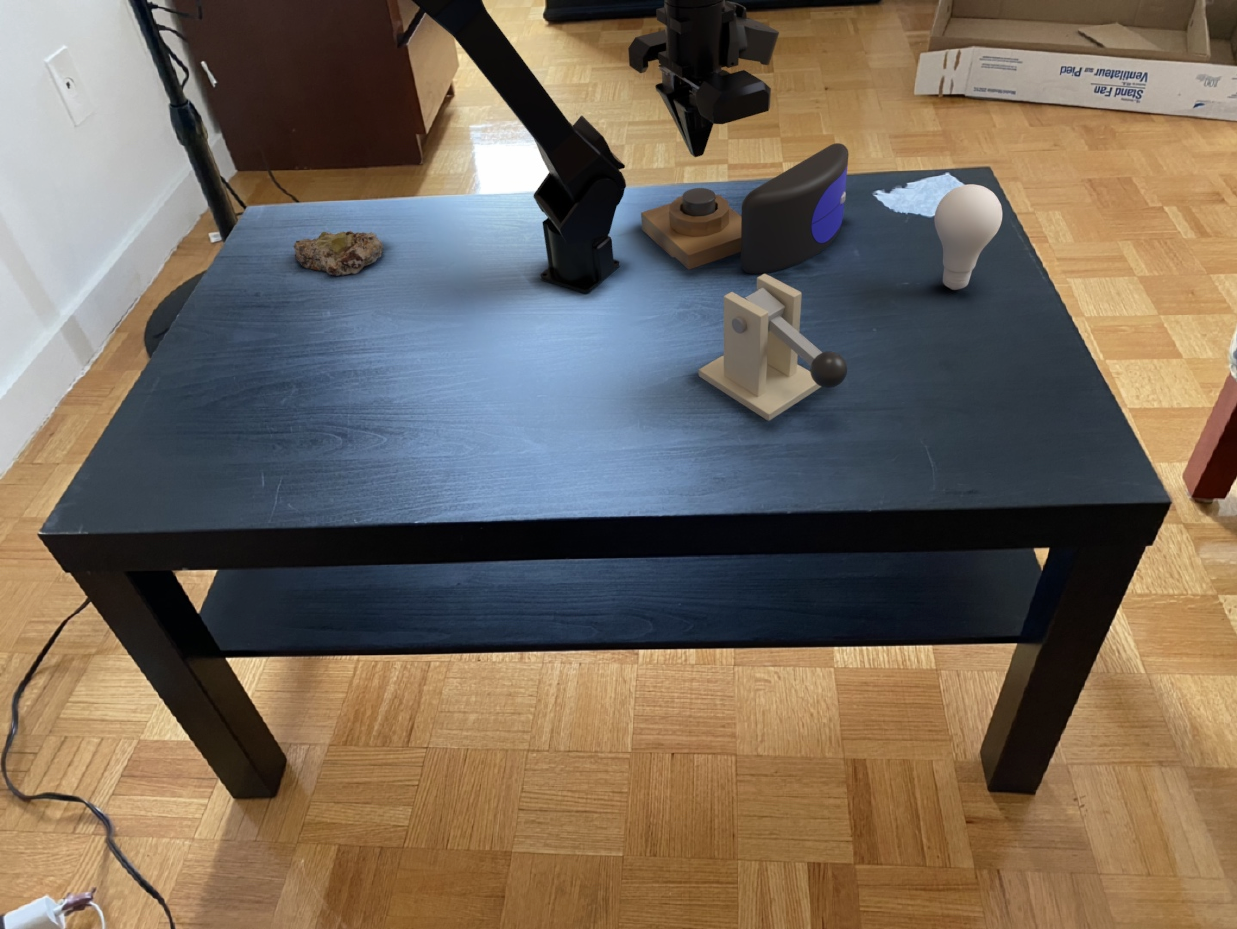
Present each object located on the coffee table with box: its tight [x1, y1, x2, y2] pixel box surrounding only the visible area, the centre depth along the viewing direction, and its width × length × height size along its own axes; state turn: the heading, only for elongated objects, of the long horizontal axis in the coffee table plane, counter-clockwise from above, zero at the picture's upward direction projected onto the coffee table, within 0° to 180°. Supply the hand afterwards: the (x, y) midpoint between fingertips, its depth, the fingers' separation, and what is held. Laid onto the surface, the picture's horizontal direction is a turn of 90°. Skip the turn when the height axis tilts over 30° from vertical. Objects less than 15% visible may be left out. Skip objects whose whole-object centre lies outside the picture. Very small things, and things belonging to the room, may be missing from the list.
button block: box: [640, 193, 742, 270], centre depth 106 cm, size 11×9×4 cm
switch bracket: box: [698, 273, 822, 422], centre depth 84 cm, size 9×7×10 cm
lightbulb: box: [933, 183, 1003, 291], centre depth 93 cm, size 6×6×11 cm
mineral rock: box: [293, 230, 385, 277], centre depth 110 cm, size 11×4×8 cm
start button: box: [681, 187, 716, 217], centre depth 104 cm, size 4×4×2 cm
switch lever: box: [744, 288, 848, 389], centre depth 81 cm, size 11×3×3 cm, turn 39°
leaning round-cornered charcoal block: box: [740, 142, 850, 275], centre depth 101 cm, size 16×5×9 cm, turn 134°
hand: (697, 155), depth 100 cm, fingers closed
